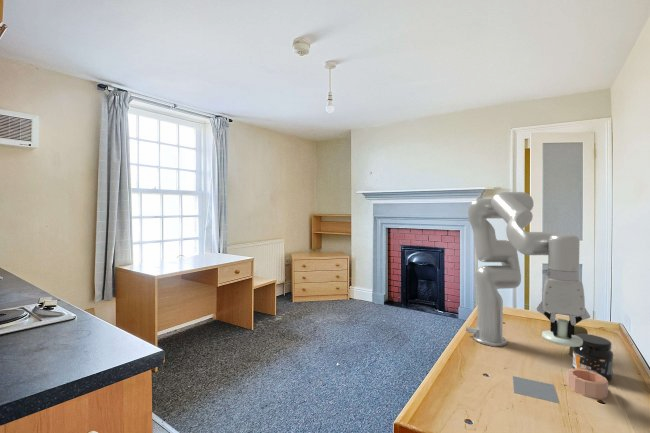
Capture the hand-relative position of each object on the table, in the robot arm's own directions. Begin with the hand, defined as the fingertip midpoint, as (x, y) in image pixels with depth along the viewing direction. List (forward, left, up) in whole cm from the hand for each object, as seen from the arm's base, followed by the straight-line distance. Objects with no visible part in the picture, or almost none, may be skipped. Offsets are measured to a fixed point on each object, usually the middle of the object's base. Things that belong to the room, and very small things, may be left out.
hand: (561, 335), depth 98 cm
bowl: (+7, +3, -17) cm, 19 cm away
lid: (0, 0, -1) cm, 1 cm away
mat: (-7, -4, -17) cm, 19 cm away
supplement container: (+11, +17, -17) cm, 27 cm away
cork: (+10, +32, -17) cm, 38 cm away
